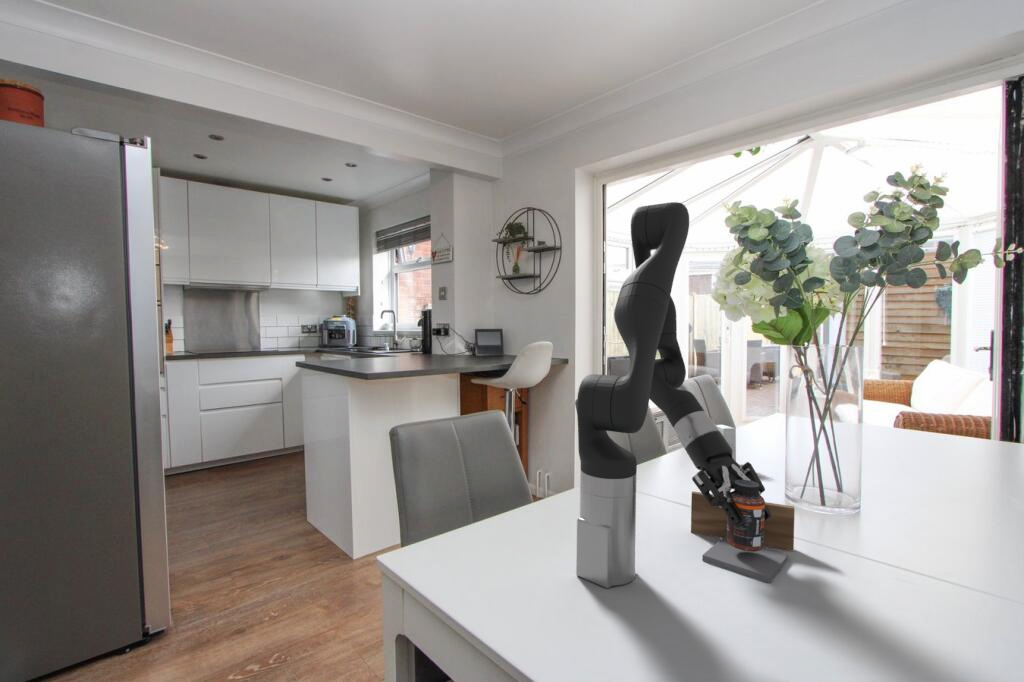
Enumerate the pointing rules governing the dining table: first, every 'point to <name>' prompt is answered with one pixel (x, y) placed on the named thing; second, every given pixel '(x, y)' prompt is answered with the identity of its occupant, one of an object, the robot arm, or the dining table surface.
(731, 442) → the grey upright block
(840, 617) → the dining table surface
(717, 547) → the charcoal pad
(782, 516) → the walnut screen
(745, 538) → the supplement bottle
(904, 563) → the dining table surface
